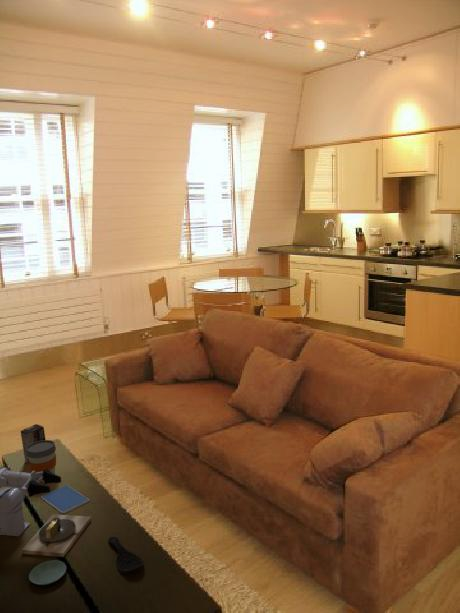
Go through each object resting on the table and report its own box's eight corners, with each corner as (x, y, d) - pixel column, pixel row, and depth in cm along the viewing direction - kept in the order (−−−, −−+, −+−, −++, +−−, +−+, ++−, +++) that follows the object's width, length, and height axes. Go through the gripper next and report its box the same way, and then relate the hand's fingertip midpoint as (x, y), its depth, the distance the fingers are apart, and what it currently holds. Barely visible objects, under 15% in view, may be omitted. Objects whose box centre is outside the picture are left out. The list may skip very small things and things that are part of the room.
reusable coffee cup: (38, 469, 254) (34, 439, 251) (63, 469, 252) (59, 439, 249) (25, 483, 242) (20, 452, 239) (51, 483, 240) (47, 452, 237)
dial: (50, 520, 209) (49, 508, 208) (81, 522, 206) (80, 510, 205) (32, 541, 196) (30, 529, 195) (65, 544, 194) (63, 531, 193)
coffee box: (40, 453, 270) (36, 423, 266) (48, 456, 266) (44, 426, 263) (24, 461, 262) (19, 430, 259) (32, 464, 259) (28, 433, 255)
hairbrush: (120, 528, 200) (147, 560, 179) (121, 537, 201) (149, 570, 180) (98, 536, 196) (124, 571, 175) (100, 545, 197) (125, 581, 176)
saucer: (54, 561, 188) (53, 555, 188) (74, 574, 181) (73, 568, 180) (22, 580, 179) (21, 574, 179) (42, 595, 172) (41, 589, 171)
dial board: (22, 553, 193) (21, 549, 192) (53, 517, 214) (53, 513, 213) (63, 557, 190) (62, 552, 189) (91, 520, 211) (90, 516, 210)
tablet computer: (40, 498, 229) (39, 496, 229) (67, 486, 238) (66, 483, 238) (62, 515, 216) (62, 512, 215) (90, 502, 224) (90, 499, 224)
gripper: (9, 479, 194) (43, 483, 191) (32, 462, 208) (64, 465, 205) (10, 497, 195) (44, 501, 192) (33, 479, 209) (65, 483, 206)
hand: (55, 484), depth 199 cm, fingers open, 7 cm apart
